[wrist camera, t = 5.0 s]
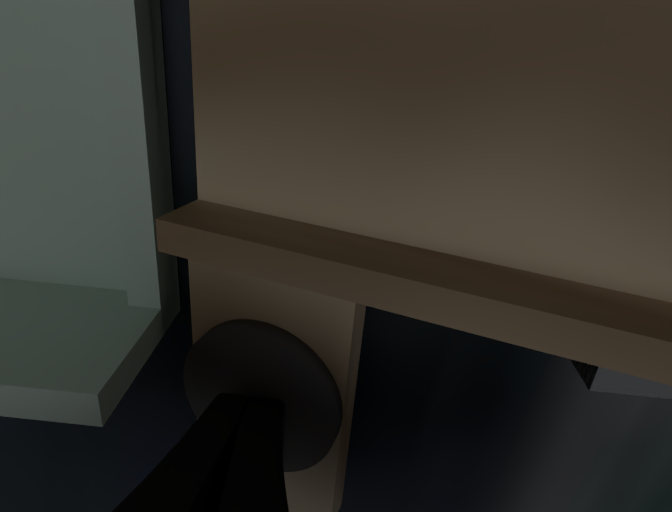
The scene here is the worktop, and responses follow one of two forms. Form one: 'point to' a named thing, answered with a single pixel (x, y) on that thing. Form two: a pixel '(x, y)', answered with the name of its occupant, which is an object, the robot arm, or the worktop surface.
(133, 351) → the tray
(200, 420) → the robot arm
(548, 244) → the wooden ramp
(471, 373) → the worktop surface
